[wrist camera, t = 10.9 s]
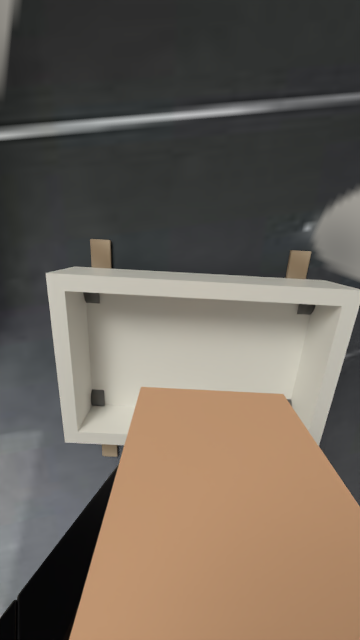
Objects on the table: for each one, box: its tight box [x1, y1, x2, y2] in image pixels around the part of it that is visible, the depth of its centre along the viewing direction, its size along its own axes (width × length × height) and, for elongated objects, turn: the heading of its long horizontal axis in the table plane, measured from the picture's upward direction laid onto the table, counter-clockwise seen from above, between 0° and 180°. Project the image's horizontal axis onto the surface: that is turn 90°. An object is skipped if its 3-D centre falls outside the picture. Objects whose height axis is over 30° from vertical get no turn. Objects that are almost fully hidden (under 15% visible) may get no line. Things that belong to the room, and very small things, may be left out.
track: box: [90, 239, 311, 457], centre depth 17 cm, size 17×14×1 cm
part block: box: [69, 387, 360, 640], centre depth 5 cm, size 4×4×6 cm
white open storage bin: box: [46, 267, 360, 446], centre depth 15 cm, size 10×15×4 cm, turn 87°
